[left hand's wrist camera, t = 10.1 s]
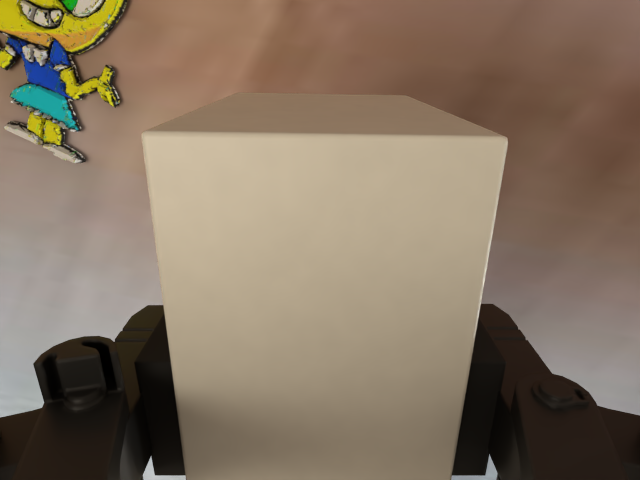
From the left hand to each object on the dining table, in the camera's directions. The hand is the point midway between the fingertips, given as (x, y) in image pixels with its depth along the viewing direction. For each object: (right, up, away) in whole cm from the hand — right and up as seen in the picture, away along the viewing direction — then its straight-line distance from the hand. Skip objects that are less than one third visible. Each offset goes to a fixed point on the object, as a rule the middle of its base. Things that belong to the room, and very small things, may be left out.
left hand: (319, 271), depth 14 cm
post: (0, -23, +10) cm, 25 cm away
